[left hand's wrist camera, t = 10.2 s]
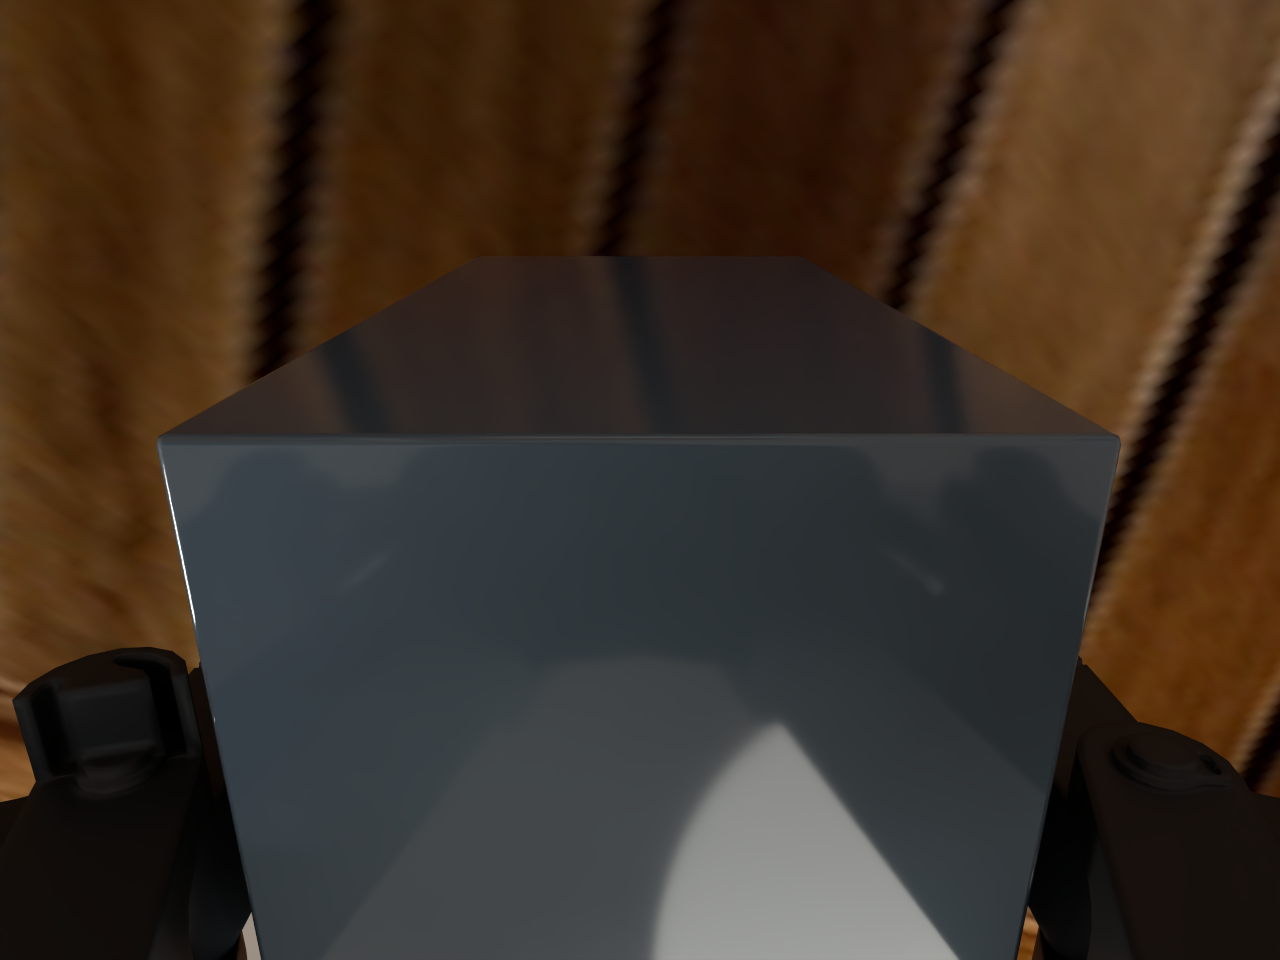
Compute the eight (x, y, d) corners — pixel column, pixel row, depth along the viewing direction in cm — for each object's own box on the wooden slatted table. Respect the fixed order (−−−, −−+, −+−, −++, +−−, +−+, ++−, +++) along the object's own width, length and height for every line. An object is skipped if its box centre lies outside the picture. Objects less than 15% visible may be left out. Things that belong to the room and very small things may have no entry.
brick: (475, 255, 15) (149, 436, 5) (803, 256, 15) (1127, 436, 5) (502, 679, 18) (331, 1318, 8) (776, 679, 18) (946, 1318, 8)
